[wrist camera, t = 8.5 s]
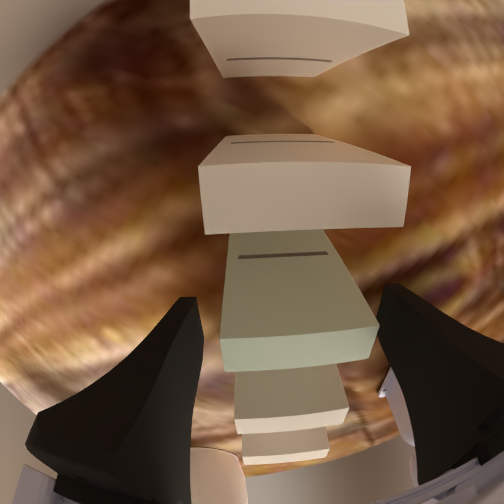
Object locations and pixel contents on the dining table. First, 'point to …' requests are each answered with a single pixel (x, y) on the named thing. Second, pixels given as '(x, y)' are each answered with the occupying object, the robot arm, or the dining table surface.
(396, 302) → the robot arm
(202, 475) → the spray can
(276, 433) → the domino
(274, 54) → the domino
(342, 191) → the domino
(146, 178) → the dining table surface
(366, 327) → the domino
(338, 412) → the domino
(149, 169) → the dining table surface
